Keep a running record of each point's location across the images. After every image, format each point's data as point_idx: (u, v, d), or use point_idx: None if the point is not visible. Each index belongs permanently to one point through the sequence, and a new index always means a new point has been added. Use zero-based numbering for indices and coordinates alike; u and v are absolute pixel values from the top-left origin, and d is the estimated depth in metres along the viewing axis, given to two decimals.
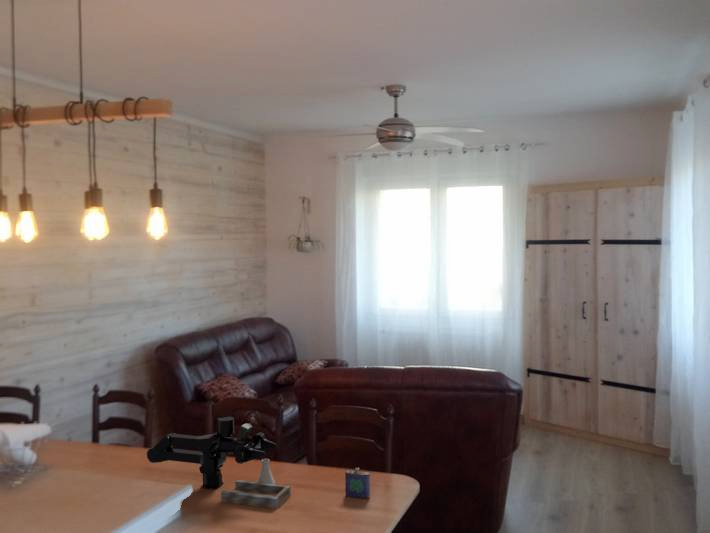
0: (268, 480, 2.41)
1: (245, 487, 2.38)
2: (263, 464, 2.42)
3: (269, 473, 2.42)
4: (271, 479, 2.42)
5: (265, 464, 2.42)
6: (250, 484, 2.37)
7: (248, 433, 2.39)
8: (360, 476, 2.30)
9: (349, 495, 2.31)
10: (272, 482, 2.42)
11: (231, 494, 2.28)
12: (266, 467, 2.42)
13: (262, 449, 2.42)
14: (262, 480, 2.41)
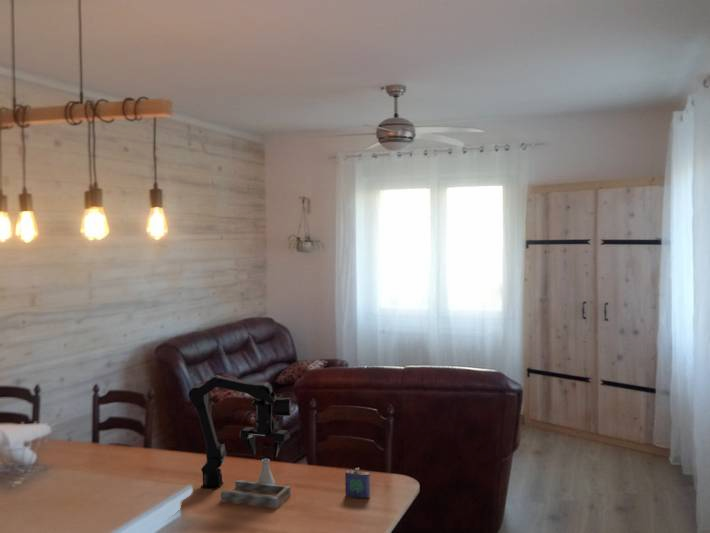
0: (268, 480, 2.41)
1: (245, 487, 2.38)
2: (263, 464, 2.42)
3: (269, 473, 2.42)
4: (271, 479, 2.42)
5: (265, 464, 2.42)
6: (250, 484, 2.37)
7: None
8: (360, 476, 2.30)
9: (349, 495, 2.31)
10: (272, 482, 2.42)
11: (231, 494, 2.28)
12: (266, 467, 2.42)
13: (250, 441, 2.42)
14: (262, 480, 2.41)
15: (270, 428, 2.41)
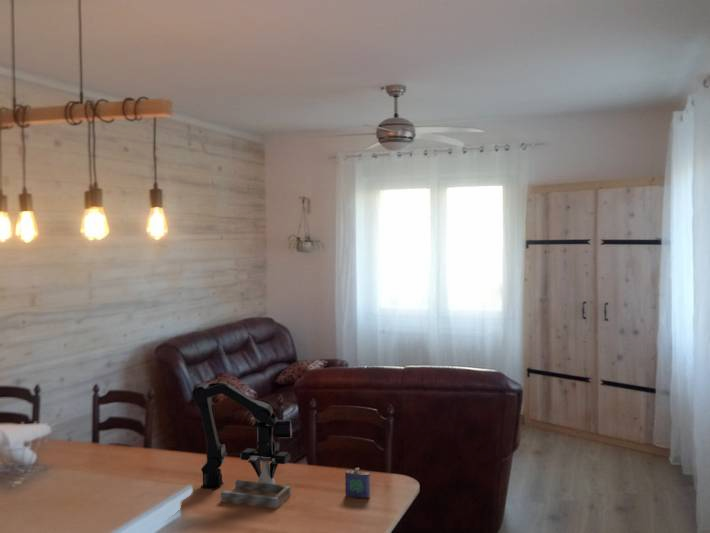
0: (268, 480, 2.41)
1: (245, 487, 2.38)
2: (263, 464, 2.42)
3: (269, 473, 2.42)
4: (271, 479, 2.42)
5: (265, 464, 2.42)
6: (250, 484, 2.37)
7: None
8: (360, 476, 2.30)
9: (349, 495, 2.31)
10: (272, 482, 2.42)
11: (231, 494, 2.28)
12: (266, 467, 2.42)
13: (255, 463, 2.42)
14: (262, 480, 2.41)
15: (271, 450, 2.42)
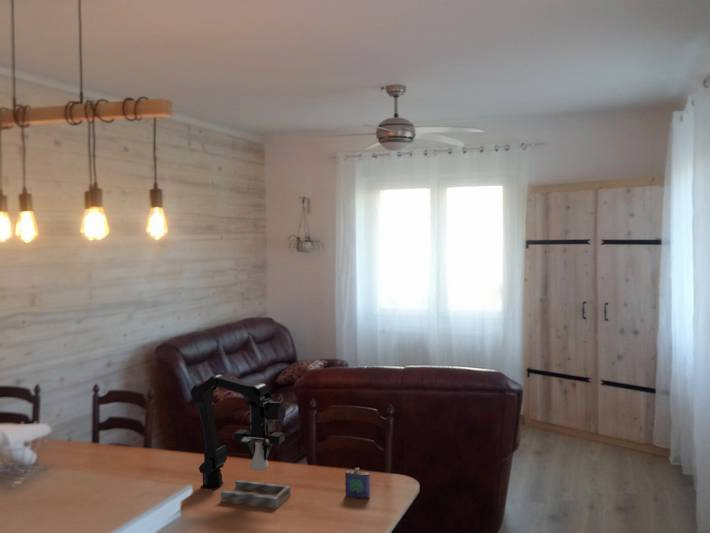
0: (262, 462, 2.33)
1: (245, 487, 2.38)
2: (256, 445, 2.34)
3: (263, 454, 2.34)
4: (265, 461, 2.34)
5: (258, 445, 2.33)
6: (250, 484, 2.37)
7: None
8: (360, 476, 2.30)
9: (349, 495, 2.31)
10: (266, 464, 2.34)
11: (231, 494, 2.28)
12: (259, 448, 2.34)
13: (248, 444, 2.33)
14: (256, 461, 2.33)
15: (264, 430, 2.33)
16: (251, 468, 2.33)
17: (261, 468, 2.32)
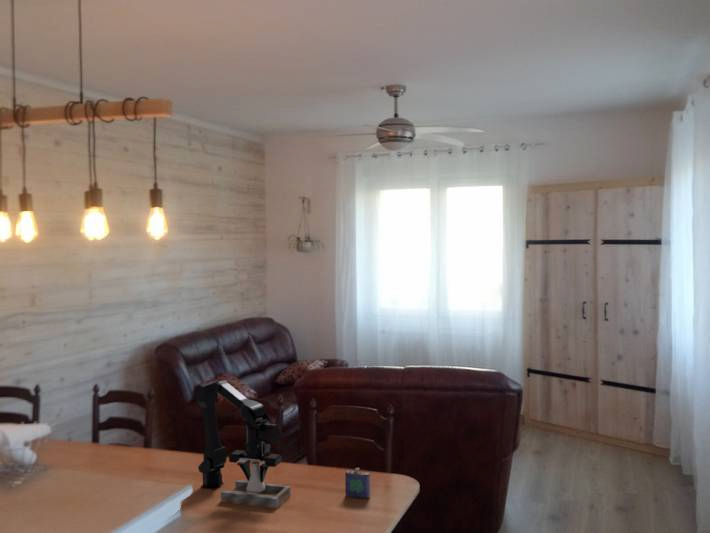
0: (258, 484, 2.29)
1: (245, 487, 2.38)
2: (253, 467, 2.30)
3: (259, 476, 2.30)
4: None
5: (255, 467, 2.30)
6: None
7: None
8: (360, 476, 2.30)
9: (349, 495, 2.31)
10: (262, 486, 2.30)
11: (231, 494, 2.28)
12: (256, 470, 2.30)
13: (244, 466, 2.30)
14: (252, 483, 2.29)
15: (261, 452, 2.29)
16: (247, 490, 2.29)
17: (257, 490, 2.28)
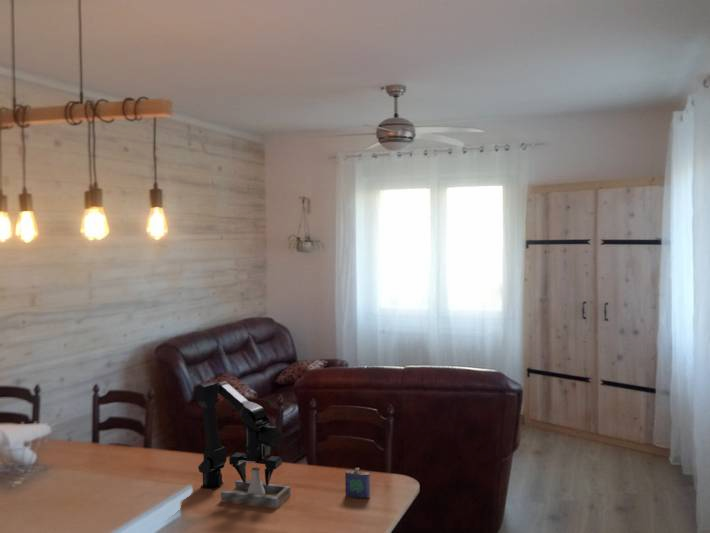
0: (258, 490, 2.29)
1: (245, 487, 2.38)
2: (253, 473, 2.30)
3: (259, 482, 2.30)
4: (261, 489, 2.30)
5: (255, 473, 2.30)
6: None
7: None
8: (360, 476, 2.30)
9: (349, 495, 2.31)
10: (262, 492, 2.30)
11: (231, 494, 2.28)
12: (256, 476, 2.30)
13: (240, 468, 2.31)
14: (252, 490, 2.29)
15: (261, 454, 2.29)
16: None
17: None
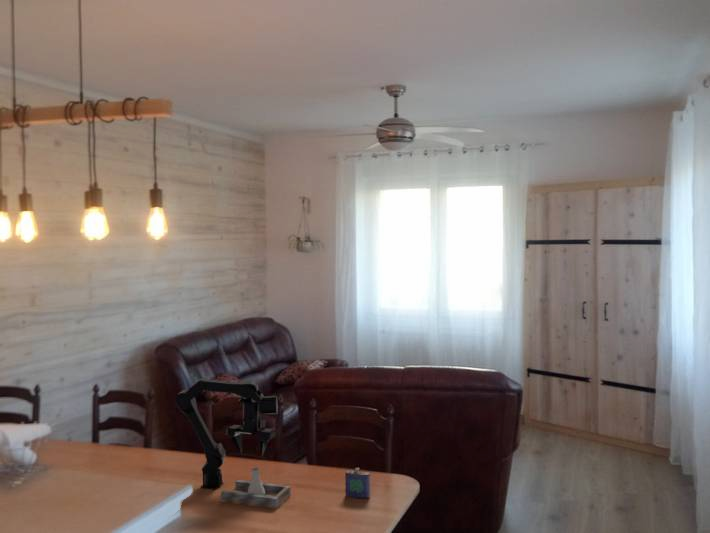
0: (258, 490, 2.29)
1: (245, 487, 2.38)
2: (253, 473, 2.30)
3: (259, 482, 2.30)
4: (261, 489, 2.30)
5: (255, 473, 2.30)
6: None
7: None
8: (360, 476, 2.30)
9: (349, 495, 2.31)
10: (262, 492, 2.30)
11: (231, 494, 2.28)
12: (256, 476, 2.30)
13: (236, 439, 2.43)
14: (252, 490, 2.29)
15: (256, 426, 2.42)
16: None
17: None
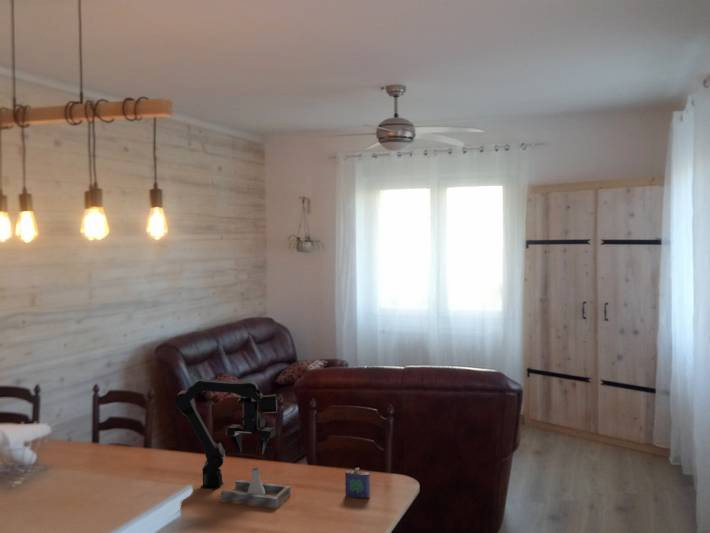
0: (258, 490, 2.29)
1: (245, 487, 2.38)
2: (253, 473, 2.30)
3: (259, 482, 2.30)
4: (261, 489, 2.30)
5: (255, 473, 2.30)
6: None
7: None
8: (360, 476, 2.30)
9: (349, 495, 2.31)
10: (262, 492, 2.30)
11: (231, 494, 2.28)
12: (256, 476, 2.30)
13: (236, 438, 2.44)
14: (252, 490, 2.29)
15: (256, 425, 2.43)
16: None
17: None
